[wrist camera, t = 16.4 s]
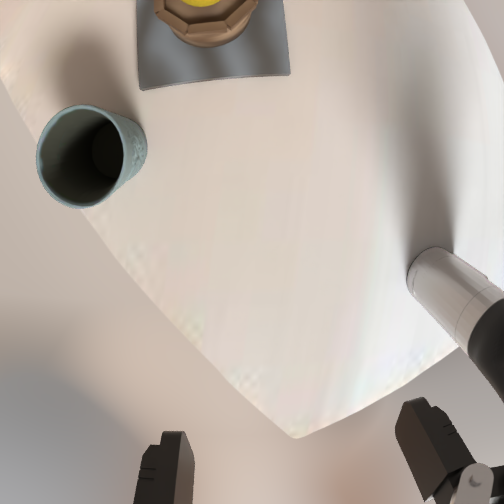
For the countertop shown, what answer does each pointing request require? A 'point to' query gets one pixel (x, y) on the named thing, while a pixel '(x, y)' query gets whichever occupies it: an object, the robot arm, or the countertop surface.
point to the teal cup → (88, 155)
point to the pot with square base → (210, 41)
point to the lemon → (200, 2)
